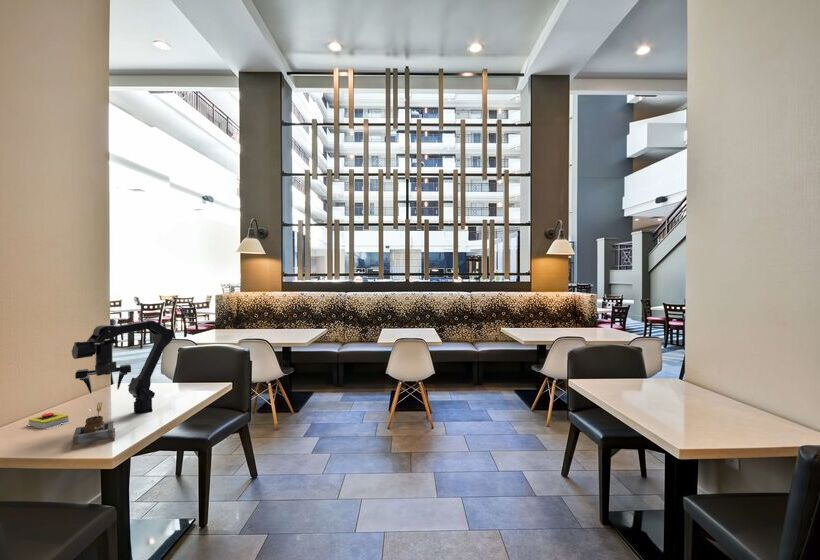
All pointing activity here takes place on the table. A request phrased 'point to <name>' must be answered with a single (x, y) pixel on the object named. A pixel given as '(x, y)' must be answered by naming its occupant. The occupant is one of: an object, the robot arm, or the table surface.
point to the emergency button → (49, 420)
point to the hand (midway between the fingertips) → (104, 391)
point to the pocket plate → (93, 436)
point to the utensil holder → (94, 422)
